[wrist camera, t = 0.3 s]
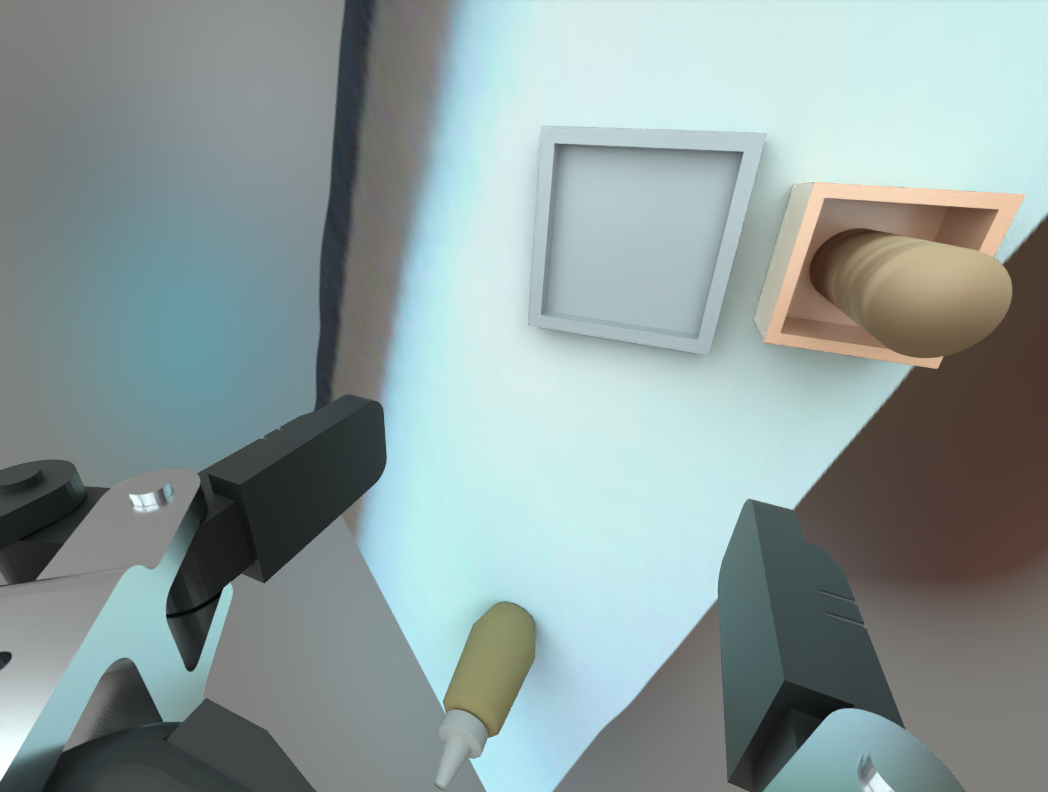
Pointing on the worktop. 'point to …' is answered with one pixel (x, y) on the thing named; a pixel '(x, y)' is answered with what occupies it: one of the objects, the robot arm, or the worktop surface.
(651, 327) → the slate tray
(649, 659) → the worktop surface
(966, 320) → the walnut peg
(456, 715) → the squeeze bottle
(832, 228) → the terracotta box
